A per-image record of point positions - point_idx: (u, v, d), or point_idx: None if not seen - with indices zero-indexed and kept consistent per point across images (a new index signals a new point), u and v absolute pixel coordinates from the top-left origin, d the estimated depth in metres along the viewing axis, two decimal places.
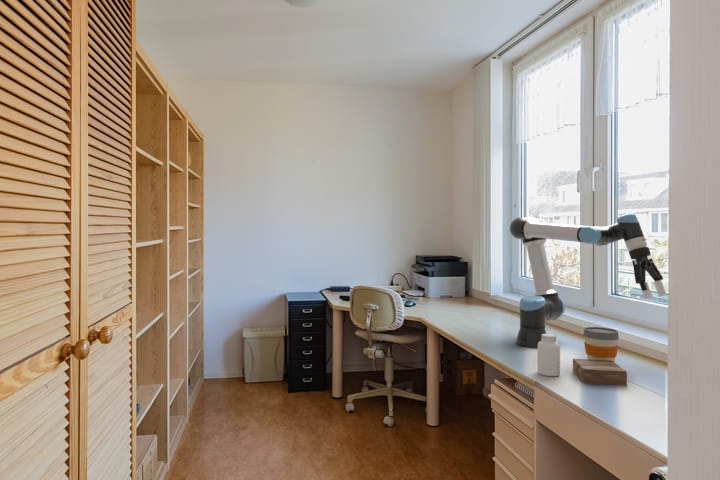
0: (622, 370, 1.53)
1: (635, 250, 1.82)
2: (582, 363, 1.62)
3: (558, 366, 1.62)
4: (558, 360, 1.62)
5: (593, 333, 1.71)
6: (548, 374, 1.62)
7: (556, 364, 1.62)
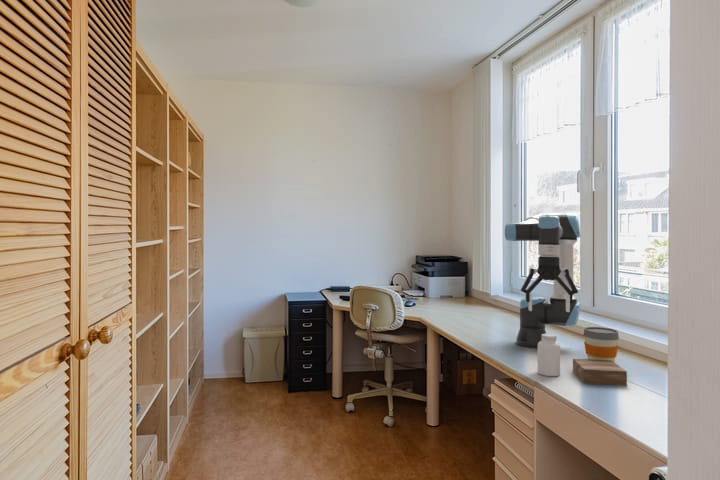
0: (622, 370, 1.53)
1: (538, 258, 1.66)
2: (582, 363, 1.62)
3: (558, 366, 1.62)
4: (558, 360, 1.62)
5: (593, 333, 1.71)
6: (548, 374, 1.62)
7: (556, 364, 1.62)
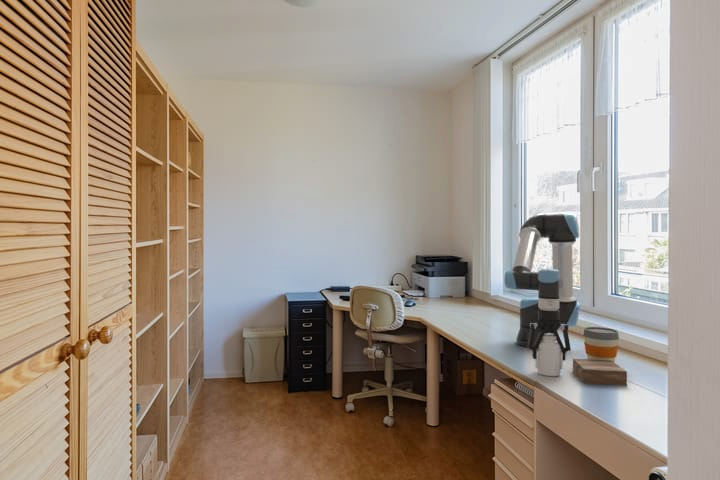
0: (622, 370, 1.53)
1: (538, 311, 1.66)
2: (582, 363, 1.62)
3: (558, 366, 1.62)
4: (558, 360, 1.62)
5: (593, 333, 1.71)
6: (548, 374, 1.62)
7: (556, 364, 1.62)
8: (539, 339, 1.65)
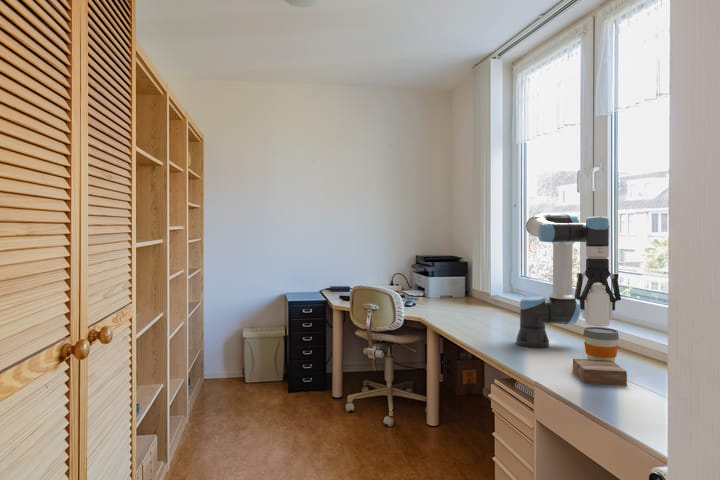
0: (622, 370, 1.53)
1: (586, 260, 1.61)
2: (582, 363, 1.62)
3: (608, 316, 1.57)
4: (608, 310, 1.57)
5: (593, 333, 1.71)
6: (598, 324, 1.57)
7: (606, 314, 1.56)
8: (587, 289, 1.60)
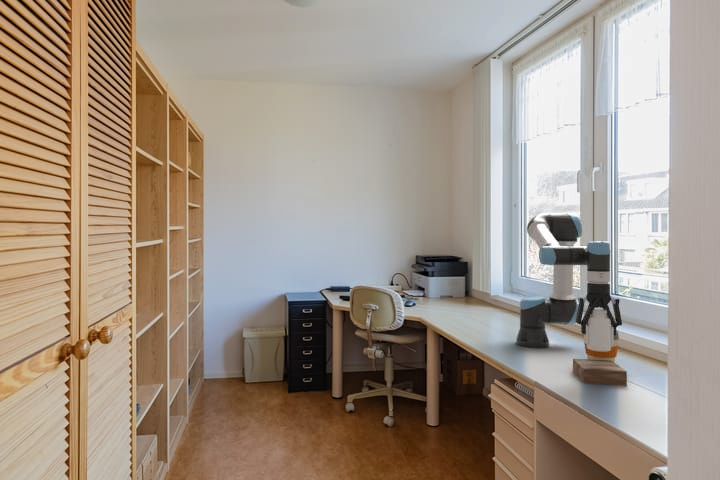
0: (622, 370, 1.53)
1: (588, 284, 1.61)
2: (582, 363, 1.62)
3: (609, 341, 1.57)
4: (609, 335, 1.57)
5: None
6: (599, 349, 1.56)
7: (608, 339, 1.56)
8: (589, 313, 1.60)
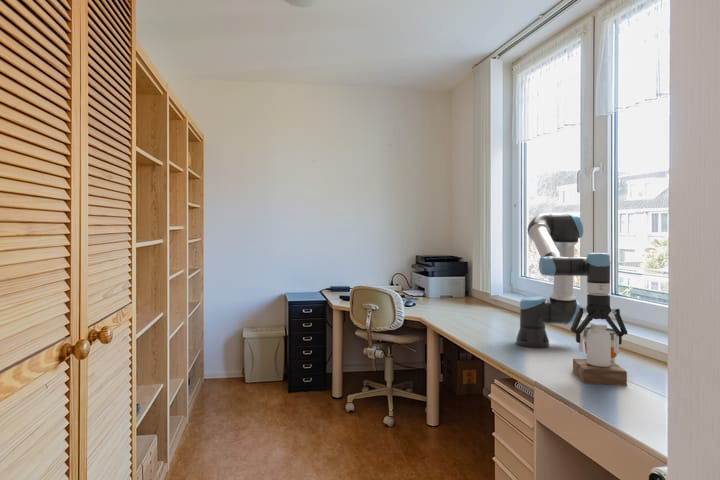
0: (622, 370, 1.53)
1: (588, 296, 1.61)
2: (582, 363, 1.62)
3: (609, 356, 1.57)
4: (609, 350, 1.57)
5: None
6: (599, 364, 1.57)
7: (608, 355, 1.56)
8: (585, 323, 1.60)
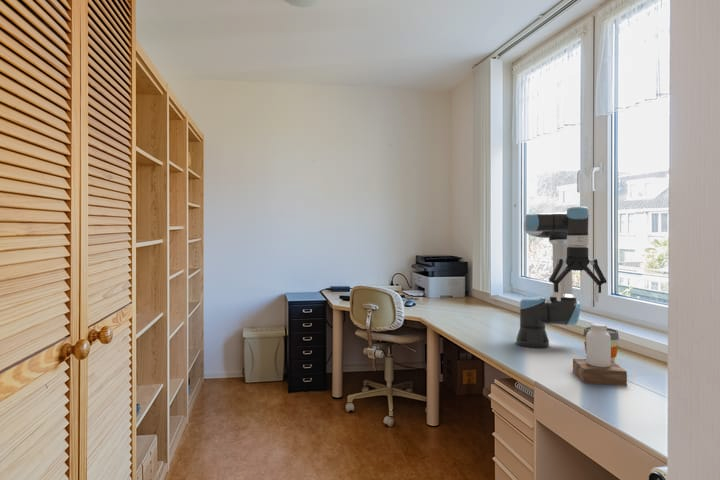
0: (622, 370, 1.53)
1: (567, 248, 1.66)
2: (582, 363, 1.62)
3: (609, 357, 1.57)
4: (609, 350, 1.57)
5: None
6: (599, 365, 1.57)
7: (608, 355, 1.56)
8: (564, 274, 1.66)
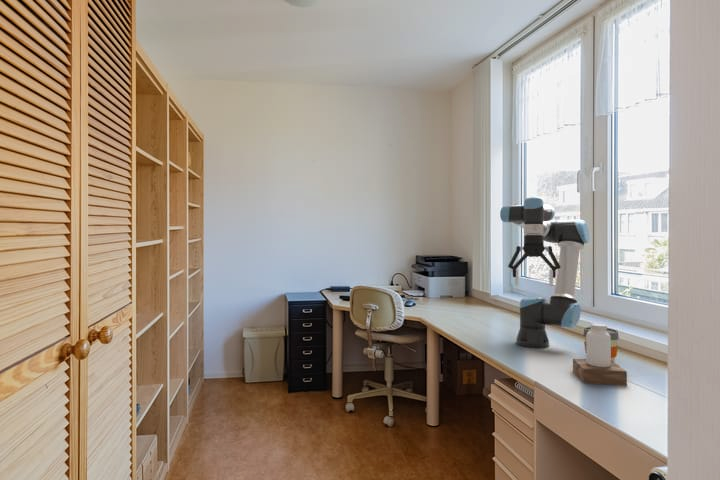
0: (622, 370, 1.53)
1: (524, 236, 1.79)
2: (582, 363, 1.62)
3: (609, 357, 1.57)
4: (609, 350, 1.57)
5: None
6: (599, 365, 1.57)
7: (608, 355, 1.56)
8: (521, 260, 1.79)
